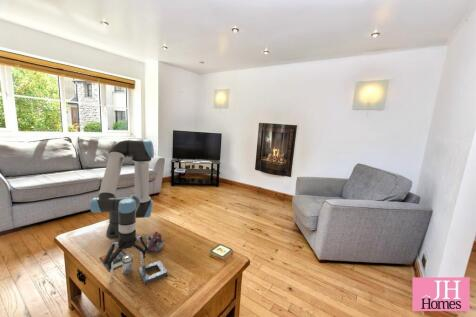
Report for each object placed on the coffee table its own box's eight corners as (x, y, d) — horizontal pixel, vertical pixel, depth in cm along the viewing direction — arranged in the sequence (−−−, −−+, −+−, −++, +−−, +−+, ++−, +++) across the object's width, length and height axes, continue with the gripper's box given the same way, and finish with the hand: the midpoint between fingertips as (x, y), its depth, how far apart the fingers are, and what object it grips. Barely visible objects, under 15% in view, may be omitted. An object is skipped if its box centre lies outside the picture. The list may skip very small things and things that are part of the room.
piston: (121, 270, 105) (121, 256, 104) (131, 267, 108) (131, 253, 107) (123, 275, 102) (123, 261, 101) (133, 272, 105) (133, 257, 104)
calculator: (121, 248, 122) (132, 260, 113) (121, 250, 122) (132, 262, 113) (99, 257, 113) (108, 270, 104) (99, 258, 113) (108, 272, 104)
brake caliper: (159, 252, 119) (148, 234, 119) (146, 259, 122) (136, 241, 122) (170, 242, 130) (160, 225, 130) (158, 248, 133) (148, 232, 133)
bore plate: (138, 271, 106) (138, 267, 105) (160, 263, 113) (160, 260, 112) (144, 284, 97) (144, 280, 97) (167, 275, 104) (167, 271, 104)
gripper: (98, 241, 91) (99, 284, 94) (155, 227, 107) (154, 264, 110) (96, 233, 97) (97, 274, 100) (151, 221, 113) (150, 256, 116)
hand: (127, 269), depth 105 cm, fingers open, 13 cm apart
